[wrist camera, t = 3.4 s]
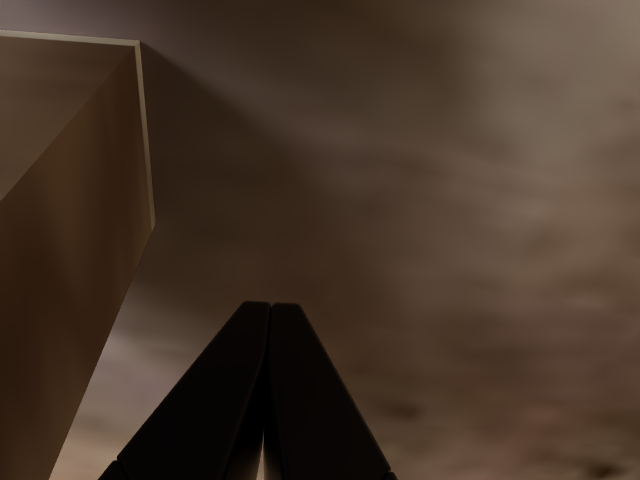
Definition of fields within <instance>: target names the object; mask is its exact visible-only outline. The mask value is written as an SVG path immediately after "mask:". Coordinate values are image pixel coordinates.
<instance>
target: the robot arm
mask: <svg viewBox="0 0 640 480" xmlns="http://www.w3.org/2000/svg"><path fill="white" fill-rule="evenodd" d="M263 434H264V443H263ZM262 443H263V459H264V480H398V479H397V477H396V476H395V474H394V473H393V472H390V471H391V467H390V465H389V463H388V462H387V460H386V458H385V456H384V454H383V453H382V451H381V449H380V447H379V446H378V444H377V442H376V440H375V438H374V437H373V435H372V433H371V431H370V429H369V428H368V426H367V424H366V422H365V420H364V419H363V417H362V415H361V413H360V411H359V410H358V408H357V406H356V404H355V402H354V401H353V399H352V397H351V395H350V393H349V392H348V390H347V388H346V386H345V384H344V383H343V381H342V379H341V377H340V375H339V374H338V372H337V370H336V368H335V366H334V365H333V363H332V361H331V359H330V357H329V356H328V354H327V352H326V350H325V348H324V347H323V345H322V343H321V341H320V339H319V338H318V336H317V334H316V332H315V330H314V329H313V327H312V325H311V323H310V321H309V320H308V318H307V316H306V314H305V313H304V311H303V309H302V307H301V306H300V305H299V304H296V303H280V302H276V303H274V304H273V305H272V309H271V304H270V303H269V302H261V301H245V302H243V303H242V304H241V305H240V306H239V308H238V309H237V310H236V311H235V312H234V314H233V315H232V316H231V317H230V319H229V320H228V321H227V322H226V324H225V325H224V326H223V327H222V328H221V330H220V331H219V332H218V333H217V335H216V336H215V337H214V338H213V339H212V341H211V342H210V343H209V344H208V346H207V347H206V348H205V349H204V350H203V352H202V353H201V354H200V355H199V357H198V358H197V359H196V360H195V361H194V363H193V364H192V365H191V366H190V368H189V369H188V370H187V371H186V372H185V374H184V375H183V376H182V377H181V379H180V380H179V381H178V382H177V384H176V385H175V386H174V387H173V388H172V390H171V391H170V392H169V393H168V395H167V396H166V397H165V398H164V399H163V401H162V402H161V403H160V404H159V406H158V407H157V408H156V409H155V410H154V412H153V413H152V414H151V415H150V417H149V418H148V419H147V420H146V421H145V423H144V424H143V425H142V426H141V428H140V429H139V430H138V431H137V432H136V434H135V435H134V436H133V437H132V439H131V440H130V441H129V442H128V444H127V445H126V446H125V447H124V448H123V450H122V451H121V452H120V453H119V455H118V456H117V460H114V461H113V462H112V463H111V464H110V465H109V466H108V468H107V469H106V470H105V471H104V473H103V474H102V475H101V476H100V477H99V479H98V480H256V478H257V473H258V468H259V463H260V457H261V451H262Z"/></svg>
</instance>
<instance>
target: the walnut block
mask: <svg viewBox="0 0 640 480" xmlns="http://www.w3.org/2000/svg"><path fill="white" fill-rule="evenodd" d="M155 223H156V221H155V210H154V199H153V187H152V176H151V165H150V153H149V142H148V131H147V120H146V108H145V97H144V86H143V74H142V63H141V52H140V40H128V39H115V38H101V37H88V36H75V35H62V34H49V33H35V32H22V31H9V30H0V480H49V477H50V475H51V473H52V470H53V468H54V465H55V463H56V461H57V458H58V456H59V453H60V451H61V449H62V446H63V444H64V441H65V439H66V437H67V434H68V432H69V429H70V427H71V425H72V422H73V420H74V417H75V415H76V413H77V410H78V408H79V405H80V403H81V401H82V398H83V396H84V393H85V391H86V389H87V386H88V384H89V381H90V379H91V377H92V374H93V372H94V370H95V367H96V365H97V362H98V360H99V358H100V355H101V353H102V350H103V348H104V346H105V343H106V341H107V338H108V336H109V334H110V331H111V329H112V326H113V324H114V322H115V319H116V317H117V314H118V312H119V310H120V307H121V305H122V302H123V300H124V298H125V295H126V293H127V290H128V288H129V286H130V283H131V281H132V278H133V276H134V274H135V271H136V269H137V266H138V264H139V262H140V259H141V257H142V254H143V252H144V250H145V247H146V245H147V242H148V240H149V238H150V235H151V233H152V231H153V228H154V226H155Z"/></svg>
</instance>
